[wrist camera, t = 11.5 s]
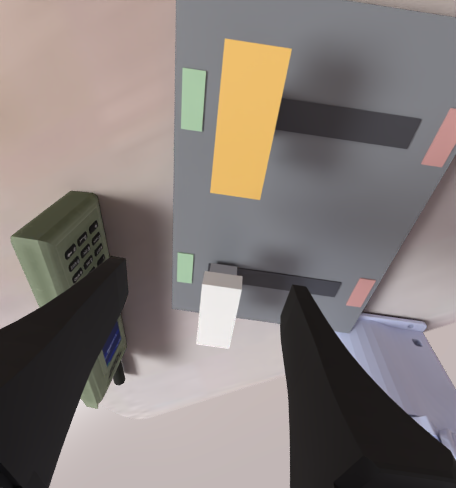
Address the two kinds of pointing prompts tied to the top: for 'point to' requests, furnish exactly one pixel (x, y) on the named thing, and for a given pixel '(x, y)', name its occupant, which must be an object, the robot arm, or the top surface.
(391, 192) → the switch panel
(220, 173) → the amber switch
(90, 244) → the handheld radio
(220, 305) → the white switch
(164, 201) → the top surface
